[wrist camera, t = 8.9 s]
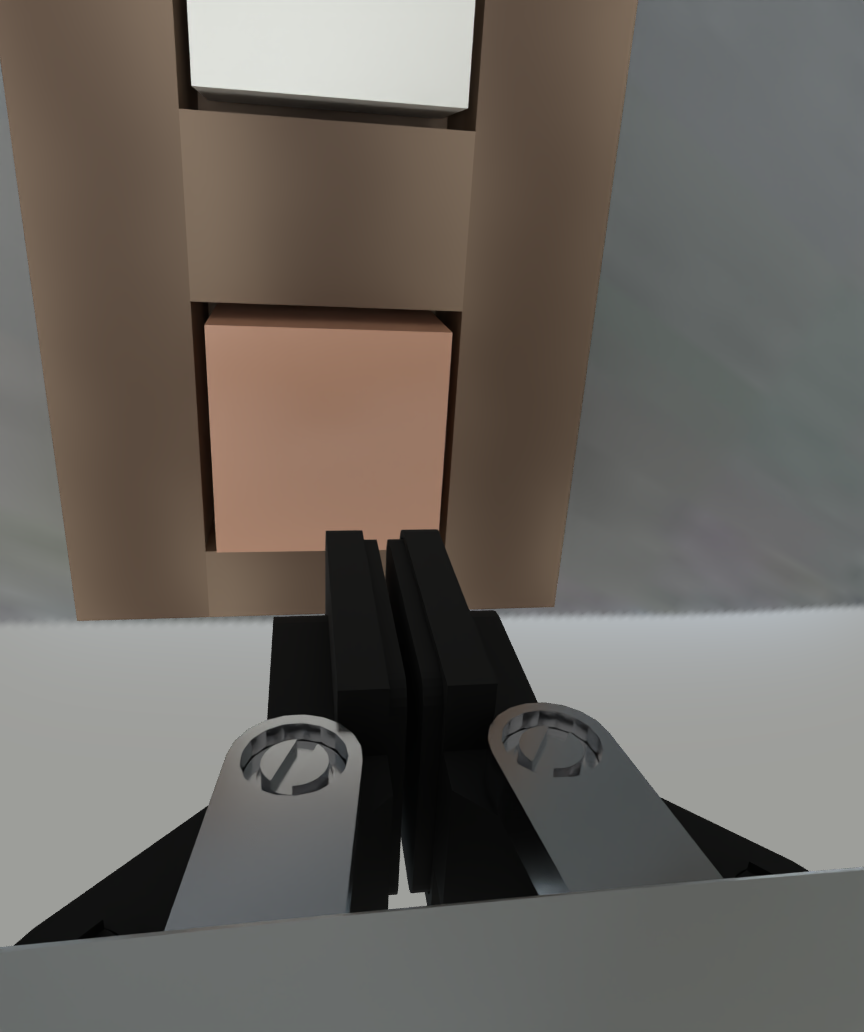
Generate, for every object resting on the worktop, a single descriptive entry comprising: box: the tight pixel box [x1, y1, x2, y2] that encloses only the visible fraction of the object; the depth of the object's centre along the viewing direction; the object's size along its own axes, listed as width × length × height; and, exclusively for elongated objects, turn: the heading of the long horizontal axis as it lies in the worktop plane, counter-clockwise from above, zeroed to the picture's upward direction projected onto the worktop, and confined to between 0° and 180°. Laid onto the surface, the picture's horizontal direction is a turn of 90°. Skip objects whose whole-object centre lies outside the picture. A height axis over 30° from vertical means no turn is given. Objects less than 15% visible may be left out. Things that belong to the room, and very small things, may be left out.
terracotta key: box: [204, 302, 452, 553], centre depth 22 cm, size 6×6×4 cm
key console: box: [0, 0, 638, 621], centre depth 21 cm, size 14×22×5 cm, turn 177°
